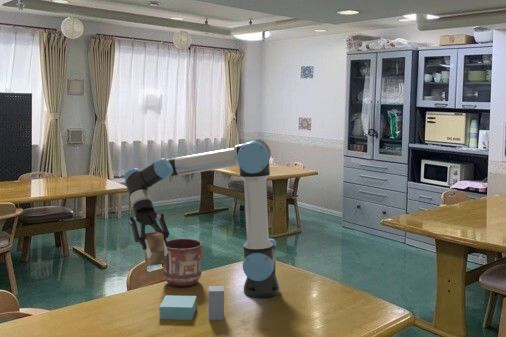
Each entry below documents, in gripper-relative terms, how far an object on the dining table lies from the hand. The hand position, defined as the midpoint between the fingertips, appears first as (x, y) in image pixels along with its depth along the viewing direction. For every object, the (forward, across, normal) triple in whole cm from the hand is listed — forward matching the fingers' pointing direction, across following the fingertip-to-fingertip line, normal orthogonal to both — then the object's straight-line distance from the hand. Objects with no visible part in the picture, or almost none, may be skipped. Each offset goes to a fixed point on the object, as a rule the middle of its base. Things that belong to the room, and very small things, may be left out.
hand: (157, 255), depth 195 cm
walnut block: (0, 0, -5) cm, 5 cm away
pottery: (-5, -22, -39) cm, 45 cm away
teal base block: (+17, -8, -17) cm, 25 cm away
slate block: (+24, -18, -10) cm, 32 cm away
